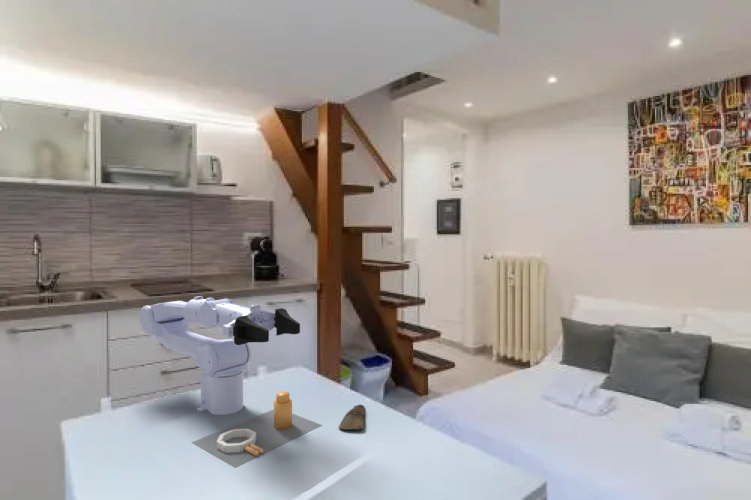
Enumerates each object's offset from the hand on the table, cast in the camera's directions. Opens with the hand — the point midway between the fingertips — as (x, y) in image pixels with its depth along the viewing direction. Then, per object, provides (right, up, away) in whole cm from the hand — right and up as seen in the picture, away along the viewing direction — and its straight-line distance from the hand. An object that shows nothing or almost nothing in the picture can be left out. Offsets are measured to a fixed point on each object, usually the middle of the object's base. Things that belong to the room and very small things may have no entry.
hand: (283, 332), depth 83 cm
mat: (-5, -20, +1) cm, 21 cm away
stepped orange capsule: (-1, -20, +4) cm, 20 cm away
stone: (+14, -21, +7) cm, 26 cm away
